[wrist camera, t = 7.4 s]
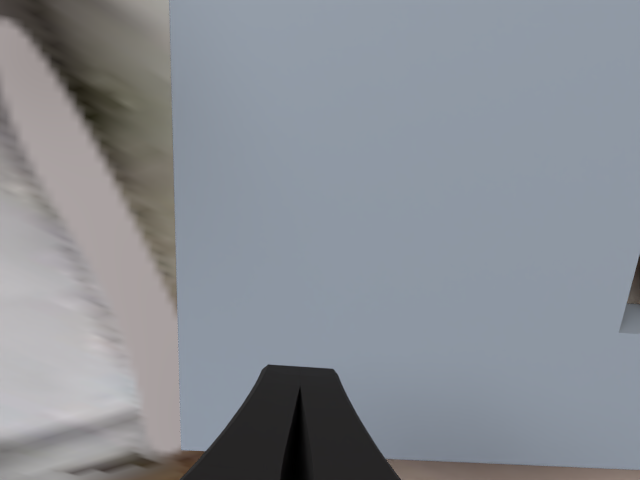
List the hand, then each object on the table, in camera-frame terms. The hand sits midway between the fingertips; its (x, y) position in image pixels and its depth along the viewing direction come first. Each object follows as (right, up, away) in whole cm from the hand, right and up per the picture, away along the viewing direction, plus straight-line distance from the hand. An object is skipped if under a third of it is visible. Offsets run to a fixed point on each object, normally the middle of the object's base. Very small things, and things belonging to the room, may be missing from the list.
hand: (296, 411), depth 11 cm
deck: (+7, +3, +9) cm, 12 cm away
